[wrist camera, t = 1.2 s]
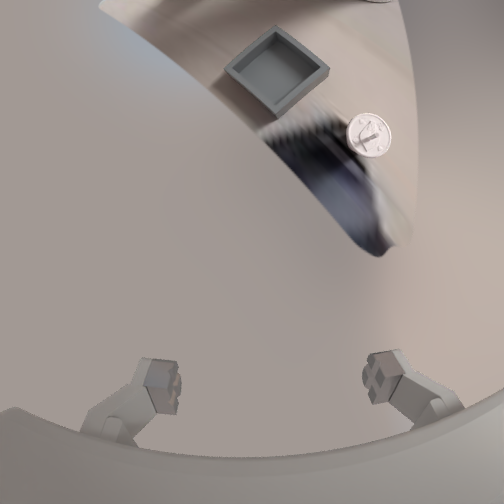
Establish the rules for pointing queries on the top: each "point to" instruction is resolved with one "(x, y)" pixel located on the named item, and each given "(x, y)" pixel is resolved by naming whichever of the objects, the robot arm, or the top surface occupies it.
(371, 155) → the smoothie
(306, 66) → the bin
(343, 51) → the top surface
